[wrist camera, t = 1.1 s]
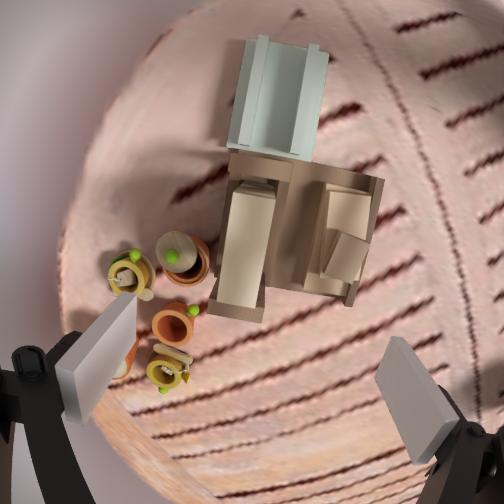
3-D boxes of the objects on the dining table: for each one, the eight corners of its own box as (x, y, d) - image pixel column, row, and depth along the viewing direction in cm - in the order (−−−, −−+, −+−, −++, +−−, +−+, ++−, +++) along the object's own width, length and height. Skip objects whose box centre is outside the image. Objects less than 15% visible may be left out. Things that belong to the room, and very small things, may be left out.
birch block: (272, 184, 37) (275, 199, 24) (259, 257, 40) (254, 308, 26) (245, 180, 37) (233, 192, 24) (233, 253, 40) (216, 301, 26)
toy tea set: (187, 387, 48) (173, 429, 39) (100, 355, 48) (74, 389, 38) (231, 236, 41) (220, 259, 32) (121, 201, 40) (84, 215, 31)
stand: (327, 56, 33) (334, 45, 29) (309, 162, 37) (315, 162, 33) (247, 41, 33) (244, 28, 29) (227, 147, 37) (222, 145, 33)
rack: (375, 177, 37) (416, 186, 26) (345, 295, 42) (370, 343, 30) (236, 148, 37) (222, 144, 26) (216, 273, 42) (198, 317, 30)
